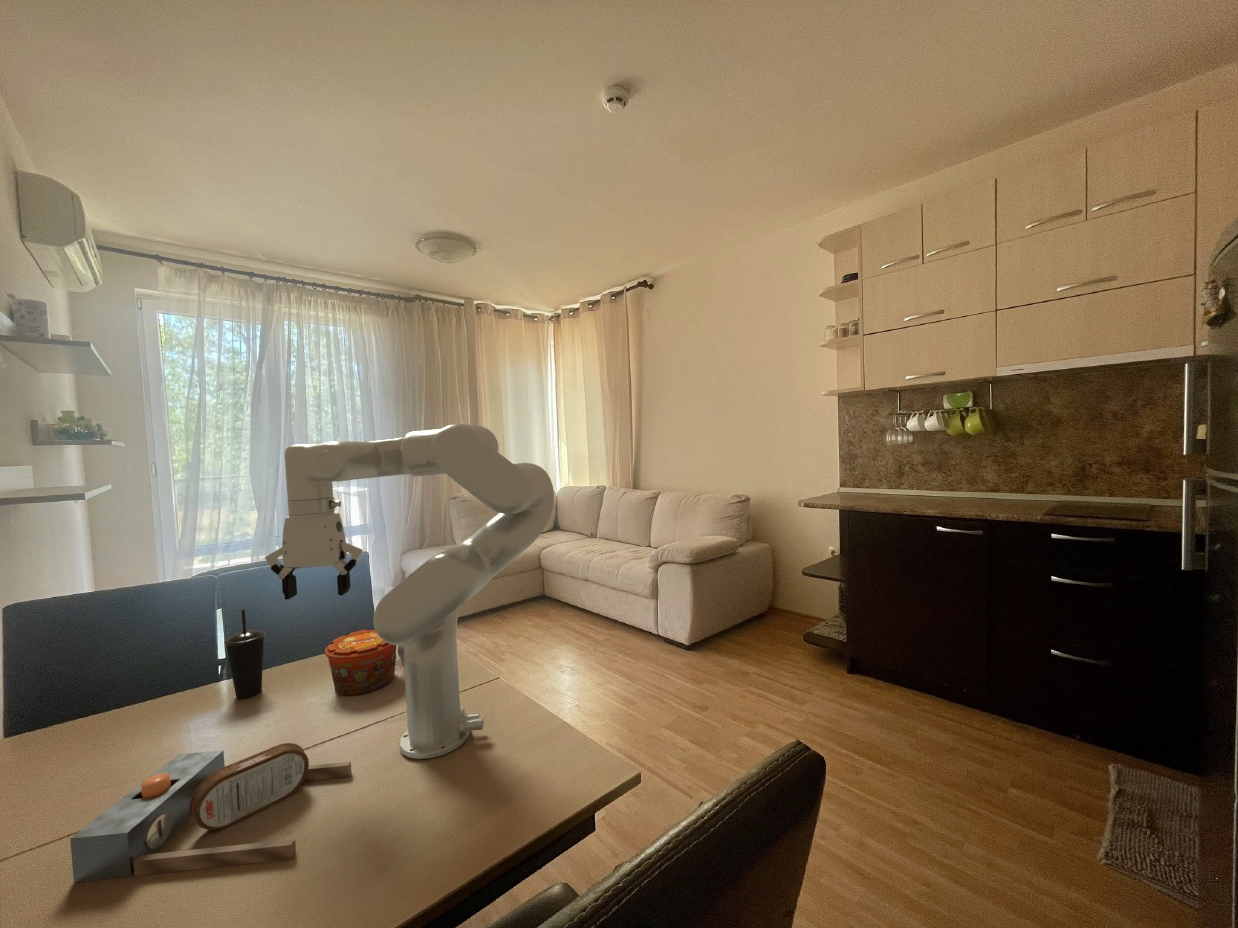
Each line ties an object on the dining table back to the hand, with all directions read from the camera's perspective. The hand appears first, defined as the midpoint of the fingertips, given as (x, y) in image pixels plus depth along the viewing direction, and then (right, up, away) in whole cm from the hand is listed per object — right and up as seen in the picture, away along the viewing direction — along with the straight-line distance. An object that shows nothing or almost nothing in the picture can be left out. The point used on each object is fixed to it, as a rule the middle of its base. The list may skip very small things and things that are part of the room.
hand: (317, 595), depth 96 cm
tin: (+2, -29, -18) cm, 34 cm away
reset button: (-11, -26, -22) cm, 36 cm away
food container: (-3, -28, +23) cm, 36 cm away
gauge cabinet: (-11, -29, -21) cm, 38 cm away
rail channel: (+3, -29, -20) cm, 35 cm away
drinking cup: (-28, -29, +20) cm, 45 cm away
